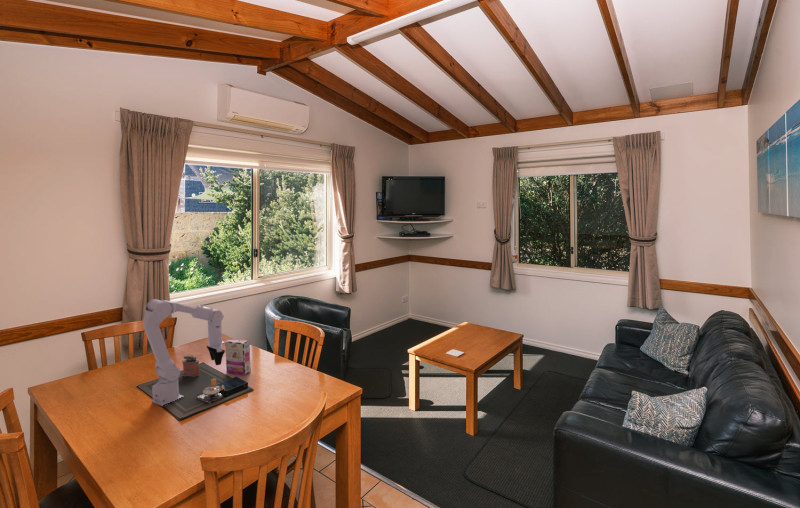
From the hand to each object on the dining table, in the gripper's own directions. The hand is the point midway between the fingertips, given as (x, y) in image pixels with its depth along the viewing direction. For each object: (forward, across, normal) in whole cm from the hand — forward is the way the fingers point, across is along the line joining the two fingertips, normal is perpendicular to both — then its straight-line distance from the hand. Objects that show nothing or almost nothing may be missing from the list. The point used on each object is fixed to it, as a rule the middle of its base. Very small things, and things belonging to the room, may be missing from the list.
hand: (216, 362), depth 190 cm
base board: (+10, -15, +6) cm, 19 cm away
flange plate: (+7, -15, +5) cm, 17 cm away
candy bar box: (+10, +5, -12) cm, 16 cm away
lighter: (+10, +15, +8) cm, 20 cm away
